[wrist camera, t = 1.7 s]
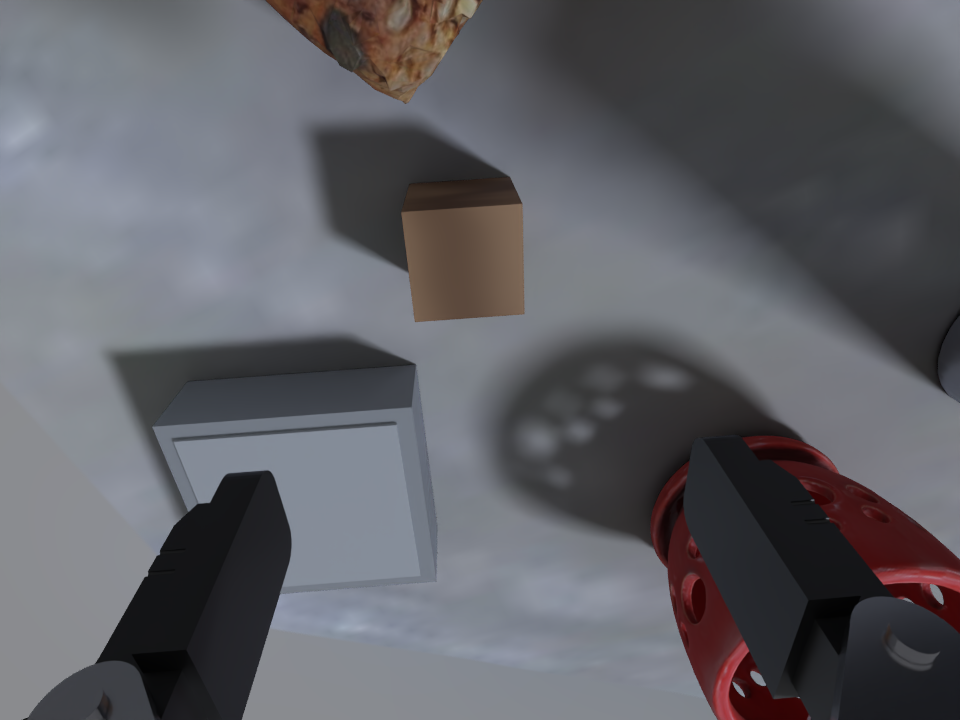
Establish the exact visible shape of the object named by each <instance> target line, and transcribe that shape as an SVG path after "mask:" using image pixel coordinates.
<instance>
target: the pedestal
mask: <svg viewBox="0 0 960 720" xmlns="http://www.w3.org/2000/svg"><path fill="white" fill-rule="evenodd" d="M152 428H153V430H154V432H155V435H156V437H157V440H158V442H159V444H160V447H161V449H162V451H163V454H164V456H165V458H166V461H167V463H168V465H169V468H170V470H171V472H172V475H173V477H174V479H175V482H176V484H177V486H178V489H179V491H180V494H181V496H182V498H183V501H184V503H185V505H186V508H187V510H188V512H189V511H190V510H191V509H192V508H193V507H194V506H196V505H197V504H200V503H210V502H211V500H212V498H213V496H214V494H215V492H216V490H217V488H218V486H219V484H220V482H221V480H222V479H223V477H224V476H225V475H226V474H228V473H238V472H251V471H264V470H269V471H270V472H271V473H272V474H273V476H274V478H275V481H276V484H277V487H278V491H279V494H280V497H281V500H282V504H283V507H284V510H285V513H286V516H287V520H288V523H289V526H290V530H291V538H292V549H291V557H290V562H289V566H288V569H287V572H286V575H285V579H284V582H283V585H282V589H281V592H280V594H286V593H299V592H311V591H324V590H336V589H349V588H361V587H374V586H386V585H398V584H411V583H423V582H436V577H437V532H438V528H437V521H436V513H435V505H434V498H433V490H432V482H431V475H430V467H429V459H428V452H427V444H426V437H425V429H424V421H423V414H422V406H421V398H420V391H419V383H418V375H417V368H416V365H405V366H391V367H378V368H364V369H351V370H338V371H324V372H311V373H297V374H284V375H270V376H257V377H243V378H230V379H216V380H203V381H189V382H187V383H186V384H185V385H184V387H183V388H182V389H181V391H180V392H179V393H178V394H177V396H176V397H175V398H174V399H173V401H172V402H171V403H170V405H169V406H168V407H167V408H166V410H165V411H164V412H163V414H162V415H161V416H160V417H159V419H158V420H157V421H156V423H155V424H154V425H153V426H152Z"/></svg>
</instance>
